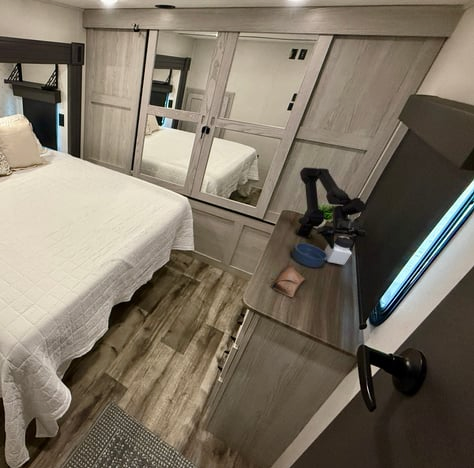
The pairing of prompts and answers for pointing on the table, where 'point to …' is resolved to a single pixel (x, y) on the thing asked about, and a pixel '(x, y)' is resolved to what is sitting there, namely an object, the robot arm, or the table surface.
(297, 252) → the blue round bowl
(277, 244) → the table surface
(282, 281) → the sunglasses case
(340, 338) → the table surface
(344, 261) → the medicine bottle
